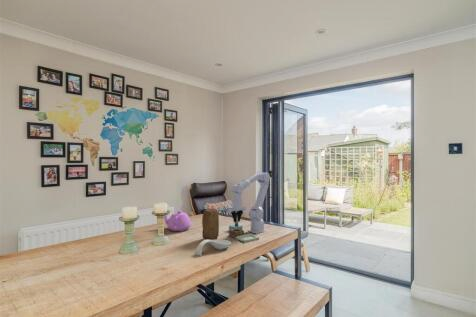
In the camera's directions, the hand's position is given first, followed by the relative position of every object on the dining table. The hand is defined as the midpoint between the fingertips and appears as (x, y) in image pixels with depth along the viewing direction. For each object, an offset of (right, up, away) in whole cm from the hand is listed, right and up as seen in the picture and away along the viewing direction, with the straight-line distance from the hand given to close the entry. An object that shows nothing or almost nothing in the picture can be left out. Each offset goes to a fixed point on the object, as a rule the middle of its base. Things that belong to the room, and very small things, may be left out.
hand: (236, 221), depth 184 cm
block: (-18, -10, -10) cm, 22 cm away
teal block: (-1, -10, +12) cm, 16 cm away
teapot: (-45, -9, +14) cm, 48 cm away
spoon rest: (-13, -11, -28) cm, 33 cm away
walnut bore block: (0, -10, 0) cm, 10 cm away
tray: (+7, -10, -6) cm, 14 cm away
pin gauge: (0, -3, 0) cm, 3 cm away
